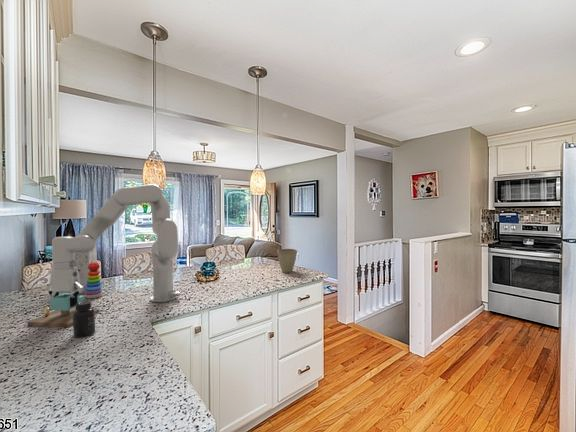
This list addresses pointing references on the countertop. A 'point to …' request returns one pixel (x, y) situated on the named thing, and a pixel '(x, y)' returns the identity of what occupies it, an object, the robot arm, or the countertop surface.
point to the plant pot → (287, 259)
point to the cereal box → (84, 265)
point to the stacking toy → (93, 282)
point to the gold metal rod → (46, 312)
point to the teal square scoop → (63, 301)
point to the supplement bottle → (83, 319)
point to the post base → (56, 319)
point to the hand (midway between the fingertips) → (65, 305)
